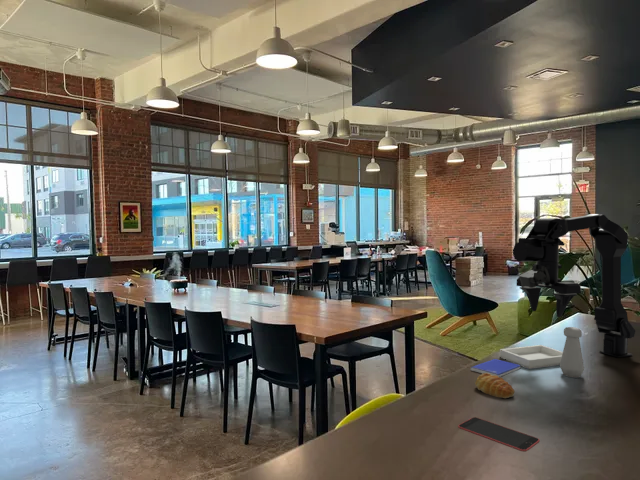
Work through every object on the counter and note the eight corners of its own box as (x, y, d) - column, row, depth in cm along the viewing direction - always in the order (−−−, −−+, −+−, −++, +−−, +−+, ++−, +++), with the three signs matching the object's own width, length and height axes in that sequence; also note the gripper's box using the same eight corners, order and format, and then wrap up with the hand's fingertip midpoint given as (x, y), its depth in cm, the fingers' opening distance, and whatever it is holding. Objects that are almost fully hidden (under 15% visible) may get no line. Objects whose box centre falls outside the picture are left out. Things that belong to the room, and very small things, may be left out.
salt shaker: (555, 372, 128) (556, 325, 127) (574, 371, 128) (575, 325, 128) (568, 379, 122) (569, 330, 122) (588, 378, 123) (589, 330, 122)
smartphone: (525, 451, 83) (456, 425, 93) (525, 454, 83) (456, 428, 93) (541, 439, 88) (474, 416, 98) (541, 442, 88) (474, 418, 98)
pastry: (521, 397, 110) (522, 381, 110) (501, 402, 107) (501, 386, 107) (491, 384, 118) (491, 370, 118) (471, 389, 115) (471, 374, 115)
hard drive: (498, 373, 123) (520, 364, 131) (470, 366, 130) (493, 358, 138) (497, 379, 123) (520, 370, 131) (470, 372, 130) (493, 363, 138)
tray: (540, 352, 147) (540, 344, 147) (572, 363, 136) (572, 355, 136) (499, 357, 142) (499, 349, 142) (528, 369, 131) (529, 360, 130)
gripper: (502, 259, 141) (501, 309, 142) (551, 264, 124) (550, 322, 124) (531, 258, 145) (530, 307, 145) (582, 263, 127) (581, 319, 128)
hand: (546, 313), depth 136 cm, fingers open, 9 cm apart
